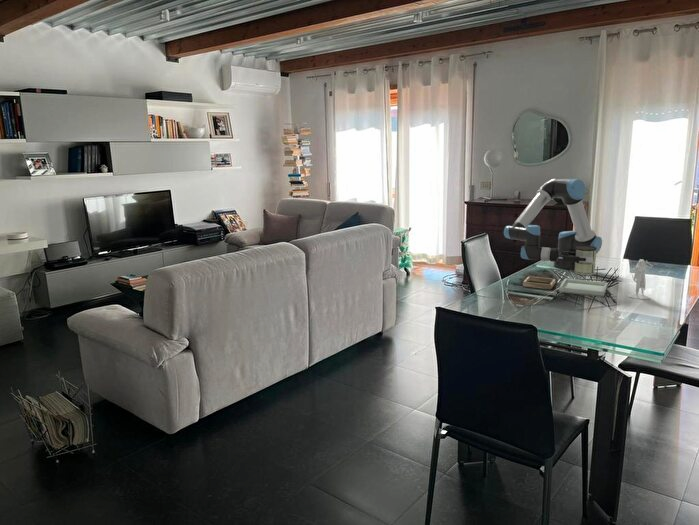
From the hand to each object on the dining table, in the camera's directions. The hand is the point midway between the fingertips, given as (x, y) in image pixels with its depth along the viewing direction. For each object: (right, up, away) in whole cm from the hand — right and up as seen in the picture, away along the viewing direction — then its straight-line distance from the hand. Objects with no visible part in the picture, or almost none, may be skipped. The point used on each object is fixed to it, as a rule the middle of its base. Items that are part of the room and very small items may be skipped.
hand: (594, 258), depth 282 cm
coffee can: (-4, -8, +4) cm, 10 cm away
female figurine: (+16, -21, -12) cm, 29 cm away
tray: (-3, -17, +6) cm, 18 cm away
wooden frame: (-23, -15, +17) cm, 32 cm away
